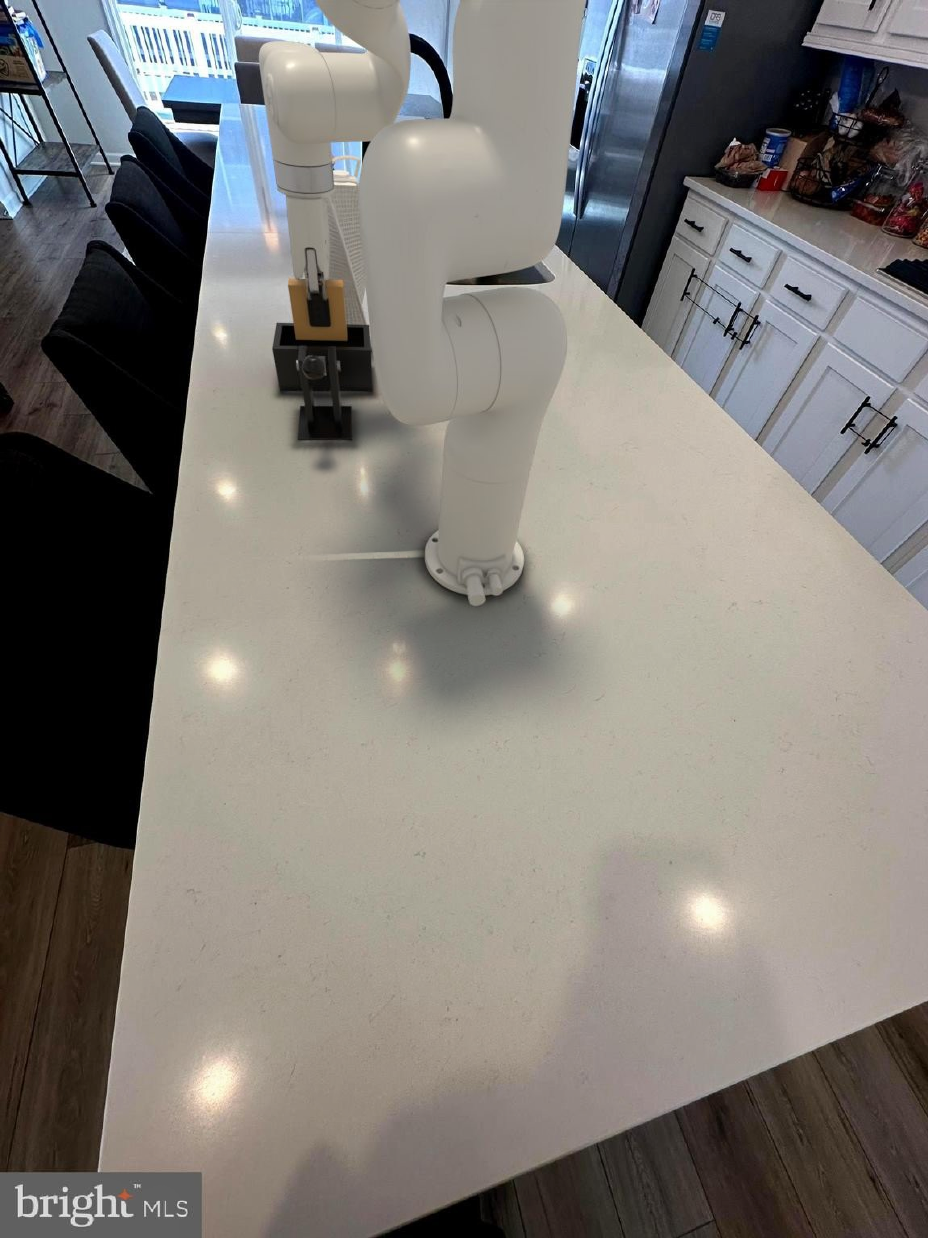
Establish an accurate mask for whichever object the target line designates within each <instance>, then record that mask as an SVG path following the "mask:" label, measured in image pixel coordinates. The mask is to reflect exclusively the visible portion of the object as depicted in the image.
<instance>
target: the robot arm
mask: <svg viewBox="0 0 928 1238" xmlns="http://www.w3.org/2000/svg"><path fill="white" fill-rule="evenodd" d="M400 1H401V0H314V2H315V4H316V6H317V7H318V8H319V10H320V12H321V13H322V14H323V15H324V18H325V19H327V21H328V22H329V23H330V24H331V25H332V26H333V27H334V28H335V29H337V30H338V31H339V32H340V33H341V34H343V35H344V36H345V37H346V38H348V39H350V40H351V41H353V42H354V43H356V44H357V45H359V46H360V47H362V48H363V49H365V50H366V52H364V53H354V52H324V51H319V50H318V49H317V48H316V47H314V46H312V45H310V44H306V43H302V42H297V41H288V40H274V41H268V42H266V43H263V45H262V46H261V47H260V49H259V52H258V63H259V64H258V65H259V71H260V72H259V73H260V79H261V87H262V93H263V100H264V106H265V115H266V121H267V129H268V135H269V142H270V148H271V149H270V150H271V155H272V162H273V169H274V176H275V177H274V178H275V183H276V190H277V191H278V192H279V193H280V194H282V195H285V206H286V217H287V229H288V236H289V244H290V253H291V263H292V273H293V278H294V279H297V280H299V279H303V277H304V279H305V281H306V290H307V307H308V314H309V322H310V326H312V327H330V326H331V319H330V309H329V299H328V298H327V297H326V287H325V281H326V280H327V279H328V276H329V260H330V243H329V225H328V211H327V200H326V197H328V196H331V195H332V194H334V192H335V188H334V175H333V168H334V166H333V163H332V155H333V150H332V143H354V142H355V143H358V142H359V143H361V142H362V143H363V142H364V143H365V142H369V144H368V146H367V148H366V151H365V153H364V156H363V159H362V163H361V166H360V167H361V168H360V172H359V173H360V174H359V180H358V182H359V190H358V212H359V226H360V238H361V248H362V257H363V267H364V276H365V286H366V288H365V294H366V305H367V311H368V312H367V313H368V322H369V323H368V325H369V330H370V338H371V343H372V350H371V353H372V359H373V366H374V372H375V378H376V382H377V385H378V389H379V392H380V396H381V398H382V400H383V403H384V404H385V407H386V409H387V410H388V412H389V413H390V414H391V415H392V416H393V417H394V418H395V419H396V420H397V421H398V422H400V423H402V424H404V425H407V426H413V427H425V426H431V425H434V424H435V425H436V424H440V423H445V422H448V423H447V425H446V429H445V434H444V440H443V441H444V442H443V451H442V452H443V453H442V468H441V471H442V472H441V483H440V501H439V502H440V503H439V518H438V529H437V530H436V531H435V532H433V534H431V536H430V537H429V538H428V540H427V542H426V544H425V549H424V563H425V566H426V570H427V571H428V573H429V575H430V576H431V577H432V578H433V579H434V580H435V581H436V582H437V583H439V584H440V585H441V586H443V587H444V588H446V589H448V590H449V591H451V592H452V591H453V592H455V593H458V594H461V595H466V596H467V599H468V603H469V604H470V605H471V606H473V607H479V606H481V605H483V604H485V602H486V596H490V595H492V596H495V597H496V596H500V595H502V594H503V592H504V591H506V590H507V589H509V588H511V587H512V586H513V585H514V584H515V583H516V582H517V581H518V580H519V578H520V577H521V575H522V572H523V570H524V569H523V568H524V565H525V555H524V550H523V549H522V546H521V544H520V543H519V541H518V540H517V537H518V532H519V528H520V522H521V517H522V513H523V507H524V504H525V498H526V495H527V494H526V493H527V489H528V483H529V479H530V474H531V470H532V467H533V462H534V457H535V452H536V448H537V443H538V439H539V435H540V431H541V428H542V424H543V421H544V418H545V415H546V413H547V410H548V408H549V406H550V403H551V401H552V398H553V396H554V394H555V392H556V391H557V390H556V389H557V387H558V384H559V382H560V380H561V377H562V374H563V371H564V368H565V364H566V358H567V353H568V331H567V325H566V322H565V318H564V316H563V314H562V312H561V310H560V308H559V307H558V305H557V304H556V303H555V301H553V299H552V298H550V297H549V296H547V294H545V293H543V292H541V291H540V290H536V289H533V288H529V287H521V286H520V287H519V286H507V287H498V288H490V289H486V290H479V291H472V292H466V293H461V294H457V295H452V296H447V297H446V296H445V297H444V294H445V290H446V285H447V283H449V282H454V281H460V280H467V279H473V278H475V279H476V278H481V277H487V276H493V275H499V274H500V275H501V274H507V273H511V272H516V271H521V270H524V269H527V268H532V267H533V266H535V265H537V264H539V263H541V262H543V261H544V260H545V259H546V258H547V257H548V256H549V255H550V253H551V252H552V250H553V249H554V247H555V245H556V243H557V240H558V237H559V234H560V229H561V225H562V219H563V218H562V217H563V212H564V204H565V197H566V187H567V177H568V168H569V167H568V166H569V159H570V158H569V155H570V147H571V138H572V127H573V117H574V106H575V98H576V97H575V96H576V89H577V87H576V86H577V78H578V67H579V66H578V63H579V53H580V43H581V34H582V26H583V19H584V14H585V9H586V4H587V0H459V3H458V5H457V10H456V13H455V18H454V23H453V31H452V50H451V51H452V52H451V53H452V106H451V112H450V116H449V118H417V119H404V120H400V121H397V122H396V120H397V118H398V116H399V114H400V112H401V109H402V108H403V105H404V103H405V101H406V98H407V95H408V91H409V87H410V81H411V69H412V68H411V67H412V66H411V65H412V63H411V62H412V59H411V58H412V55H411V53H412V51H411V39H410V33H409V32H410V31H409V28H408V24H407V20H406V17H405V13H404V10H403V7H402V5H401V2H400ZM318 283H321V285H319V284H318ZM321 286H322V287H321ZM433 540H434V541H433ZM435 540H436V541H435Z"/></svg>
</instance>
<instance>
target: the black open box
mask: <svg viewBox="0 0 928 1238" xmlns="http://www.w3.org/2000/svg"><path fill="white" fill-rule="evenodd" d="M370 338H371V333H370V324H367V325H355V324H347V341H335V340H296V336H295V330H294V323H293V322H276V323H275V330H274V336H273V342H272V347H271V349H272V355H273V361H274V367H275V371H276V377H277V382H278V388H279V391H280V392H303V391H302V384H301V377H300V371H297V366H296V360H298V356H299V346H307V352H308V356H309V355H316V356H326V357H327V370H328V375H324V376H323V377H322V378H321V379H320V380H311V381H312V388H313V392H331V385H330V376H329V367H328V347H329V346H335V347H336V356H337V361H340V368H341V371H338V377H339V388H340V392H357V393H358V392H360V393H361V392H364V393H365V392H370V393H371V392H374V390H373V369H372V350H371V346H370Z"/></svg>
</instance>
